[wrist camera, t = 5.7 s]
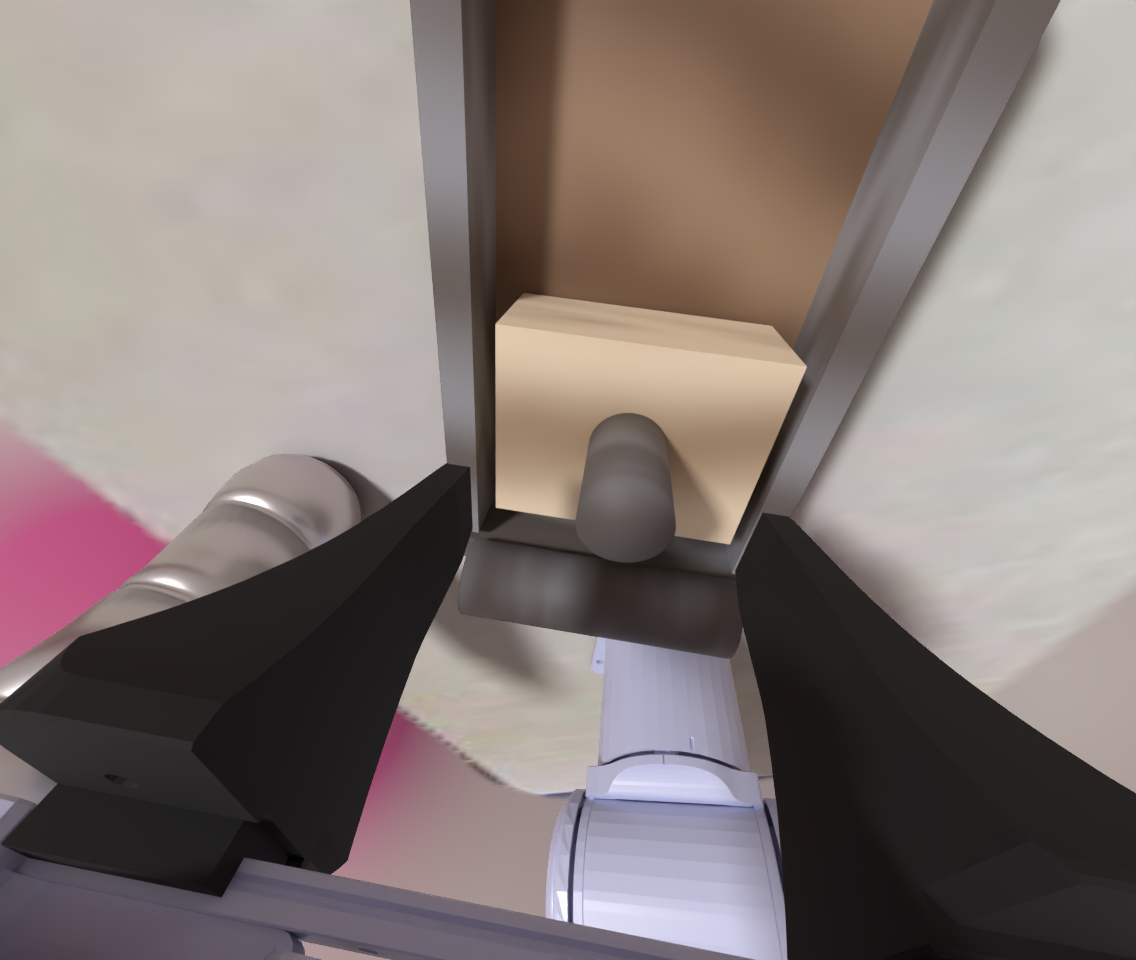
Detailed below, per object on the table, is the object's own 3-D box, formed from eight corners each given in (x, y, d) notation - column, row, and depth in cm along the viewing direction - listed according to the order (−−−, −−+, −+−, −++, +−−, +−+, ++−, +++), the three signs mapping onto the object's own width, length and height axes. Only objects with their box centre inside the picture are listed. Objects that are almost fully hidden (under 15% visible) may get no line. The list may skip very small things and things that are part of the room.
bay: (729, 555, 24) (759, 680, 18) (476, 514, 24) (425, 623, 18) (1037, -143, 10) (1572, -559, 4) (450, -190, 11) (234, -607, 5)
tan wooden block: (714, 483, 20) (752, 636, 13) (518, 453, 20) (462, 587, 14) (771, 325, 16) (867, 436, 9) (523, 292, 16) (447, 376, 10)
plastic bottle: (368, 450, 23) (-296, 1149, 7) (382, 543, 27) (-10, 1121, 10) (248, 427, 23) (-700, 1056, 7) (279, 523, 27) (-265, 1062, 11)
